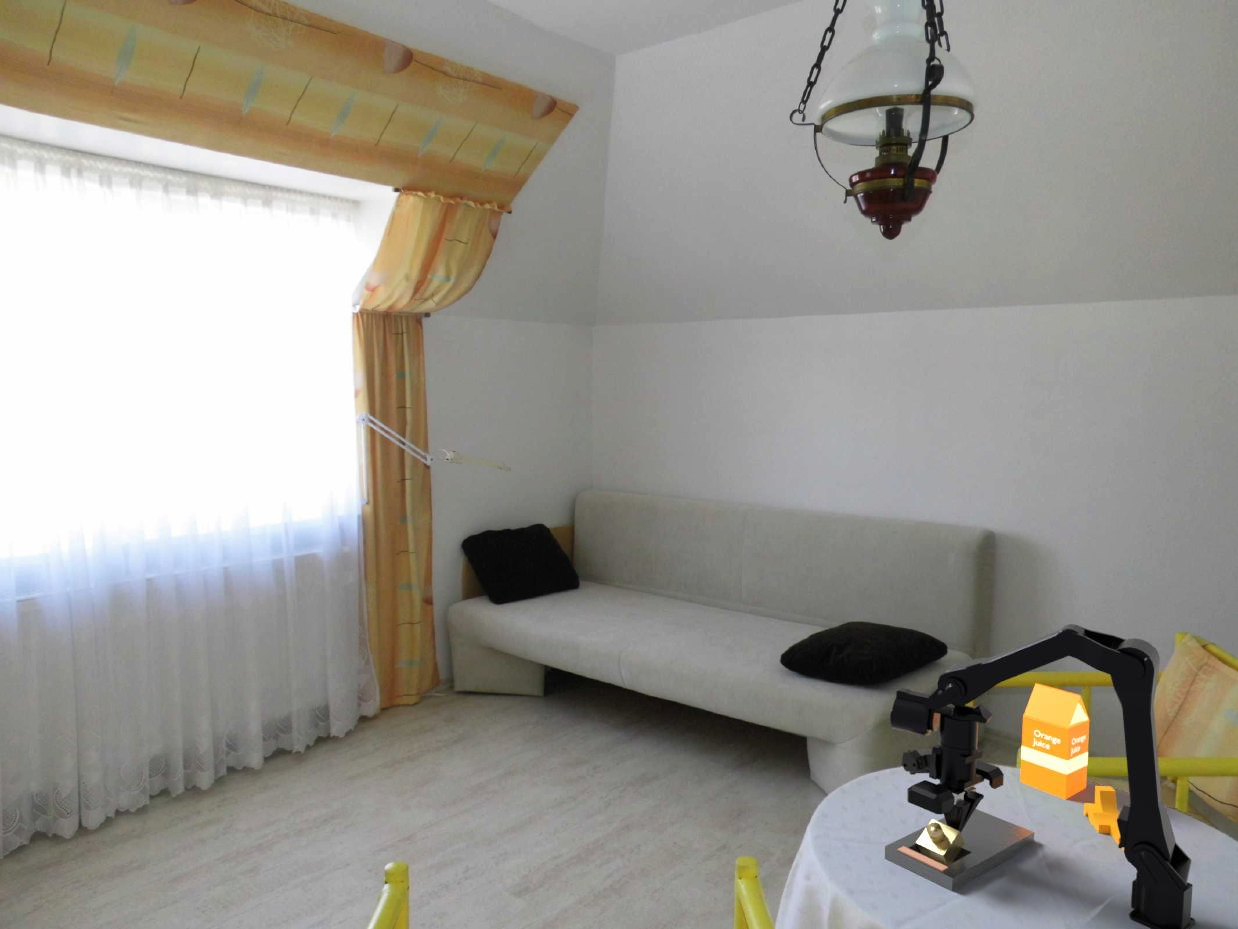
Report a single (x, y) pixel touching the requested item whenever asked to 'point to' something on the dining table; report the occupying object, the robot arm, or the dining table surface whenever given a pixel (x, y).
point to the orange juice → (1055, 742)
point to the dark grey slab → (964, 850)
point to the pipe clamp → (1104, 812)
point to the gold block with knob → (940, 842)
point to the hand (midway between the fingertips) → (954, 836)
